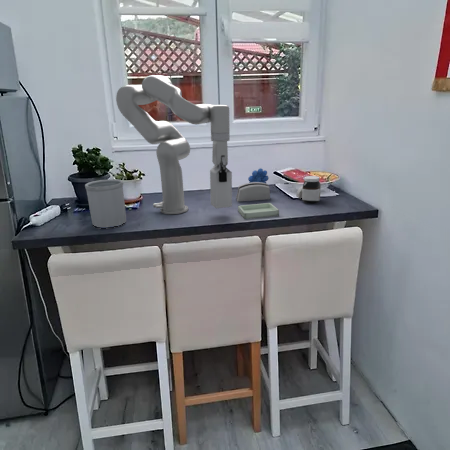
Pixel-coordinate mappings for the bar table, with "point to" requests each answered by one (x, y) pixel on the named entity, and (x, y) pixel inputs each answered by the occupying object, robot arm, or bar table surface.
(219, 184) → the milk carton
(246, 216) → the tray
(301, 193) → the spread jar
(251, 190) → the grey piece
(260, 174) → the grapes
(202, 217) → the bar table surface
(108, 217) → the utensil holder
